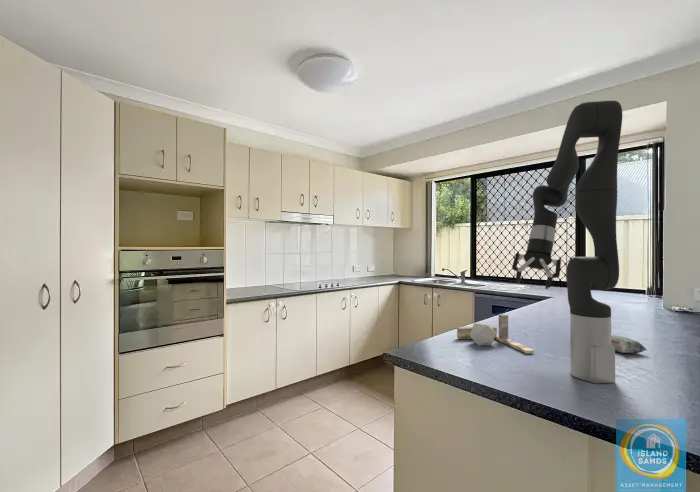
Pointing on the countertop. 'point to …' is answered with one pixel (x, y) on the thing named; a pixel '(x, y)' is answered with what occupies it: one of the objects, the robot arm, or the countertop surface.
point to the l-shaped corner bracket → (503, 334)
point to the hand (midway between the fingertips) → (532, 285)
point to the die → (482, 334)
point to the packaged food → (626, 345)
